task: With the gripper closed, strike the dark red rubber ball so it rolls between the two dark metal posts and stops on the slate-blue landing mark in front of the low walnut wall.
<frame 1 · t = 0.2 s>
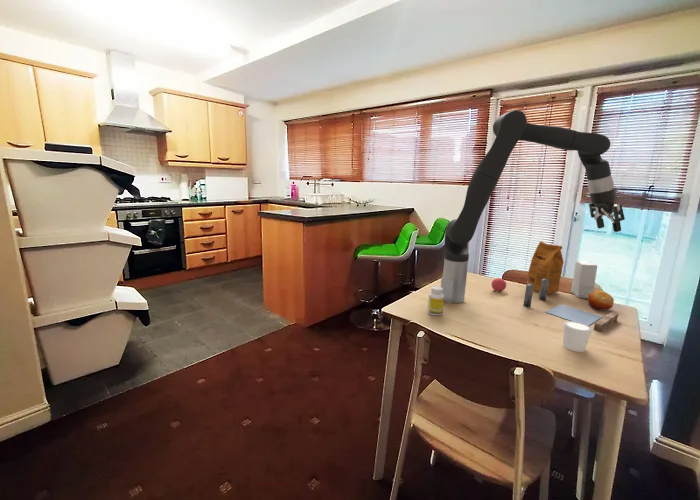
hand: (609, 229, 123), 31 cm above the table, tool tilted 20°, fingers open, 8 cm apart
coffee package: (541, 290, 147), on the table
white cup: (573, 347, 97), on the table
supplement bottle: (434, 313, 120), on the table
skincare box: (580, 295, 142), on the table
near post: (526, 306, 128), on the table
far post: (542, 299, 136), on the table
fruit: (598, 308, 128), on the table
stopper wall: (605, 324, 113), on the table
ball: (498, 284, 144), on the table
landing mark: (573, 314, 121), on the table
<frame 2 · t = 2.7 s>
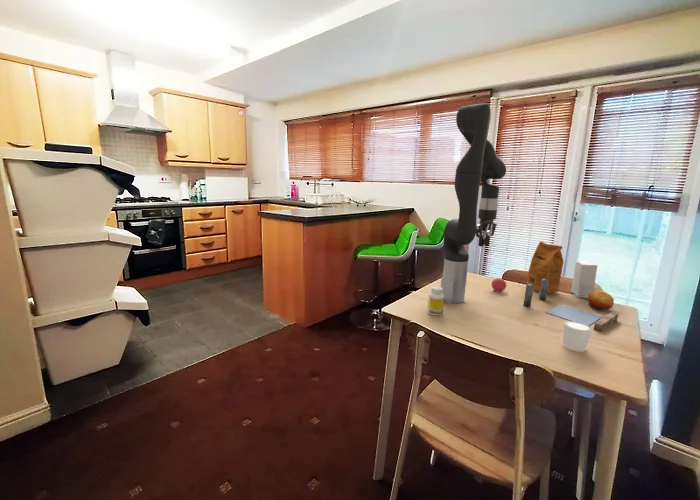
hand: (483, 245, 148), 19 cm above the table, tool pointing down, fingers open, 3 cm apart
nothing on the table moved.
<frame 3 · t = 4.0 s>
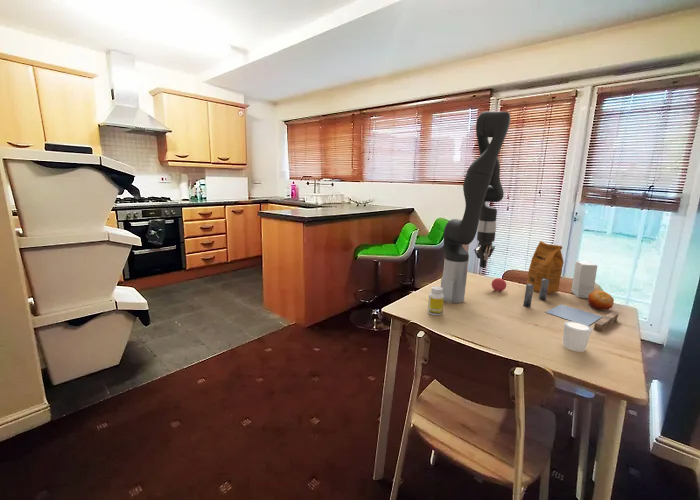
hand: (482, 267, 150), 9 cm above the table, tool pointing down, fingers closed
nothing on the table moved.
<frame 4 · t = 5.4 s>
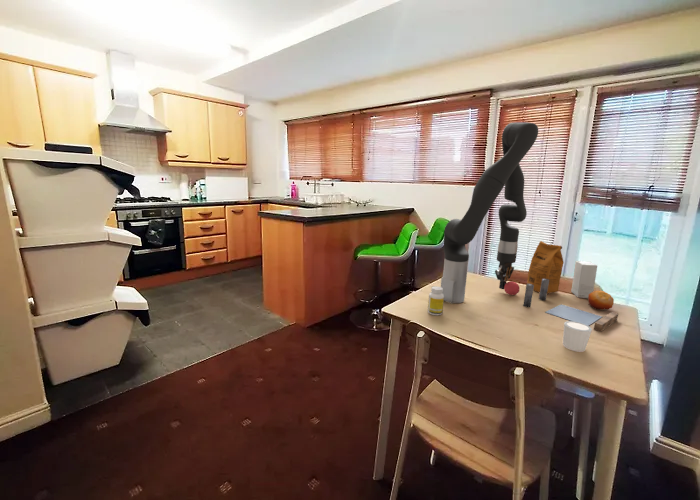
hand: (502, 288, 143), 2 cm above the table, tool pointing down, fingers closed
ball: (511, 288, 140), on the table
everything else where it was.
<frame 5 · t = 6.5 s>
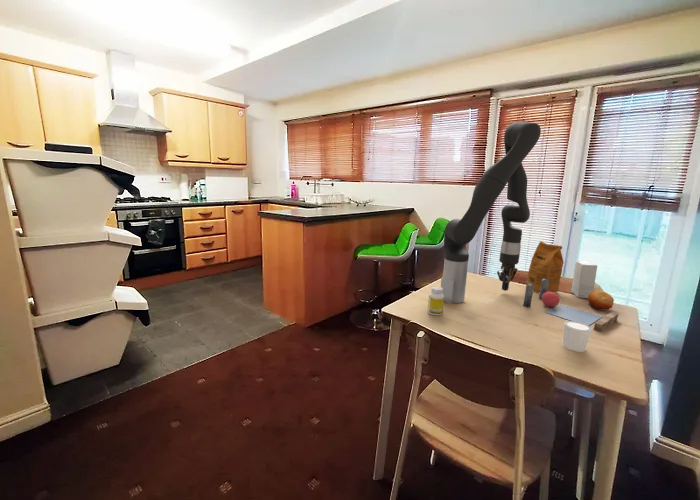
hand: (504, 289, 142), 1 cm above the table, tool pointing down, fingers closed
ball: (550, 299, 128), on the table
everything else where it was.
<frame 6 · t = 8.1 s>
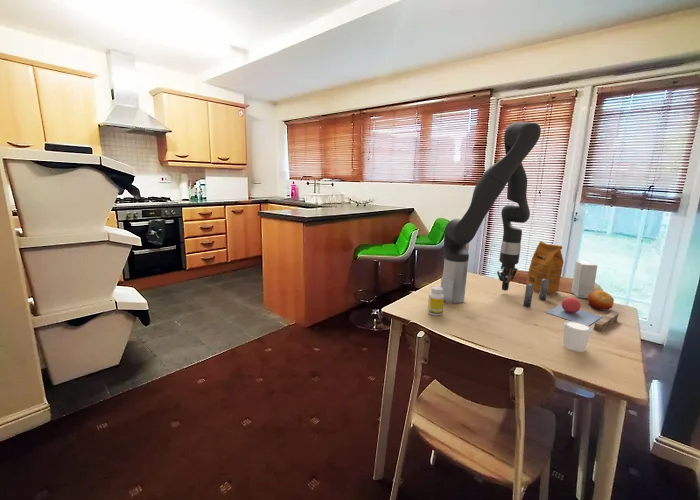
hand: (504, 289, 142), 1 cm above the table, tool pointing down, fingers closed
ball: (571, 305, 122), on the table
everything else where it was.
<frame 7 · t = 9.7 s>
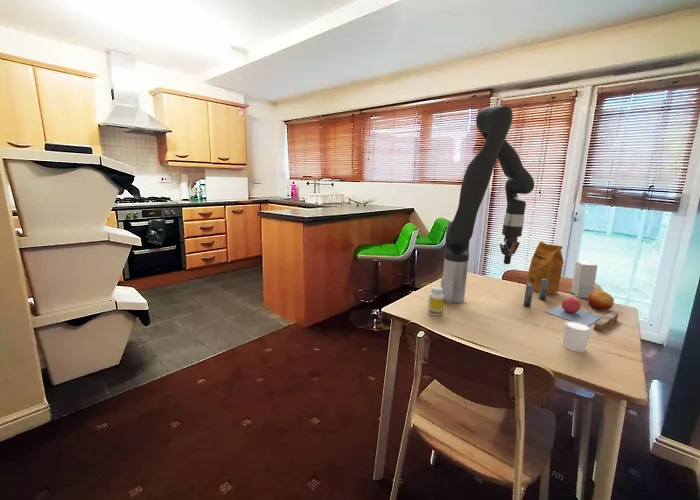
hand: (506, 263, 140), 13 cm above the table, tool pointing down, fingers closed
nothing on the table moved.
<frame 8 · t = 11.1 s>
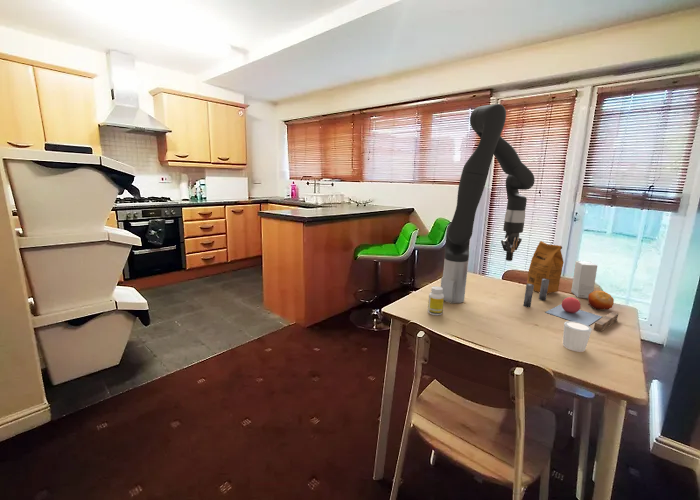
hand: (508, 260, 139), 15 cm above the table, tool pointing down, fingers closed
nothing on the table moved.
at the end: ball 2.1 cm from the landing mark (horizontally); ball never touched near post; ball never touched far post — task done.
